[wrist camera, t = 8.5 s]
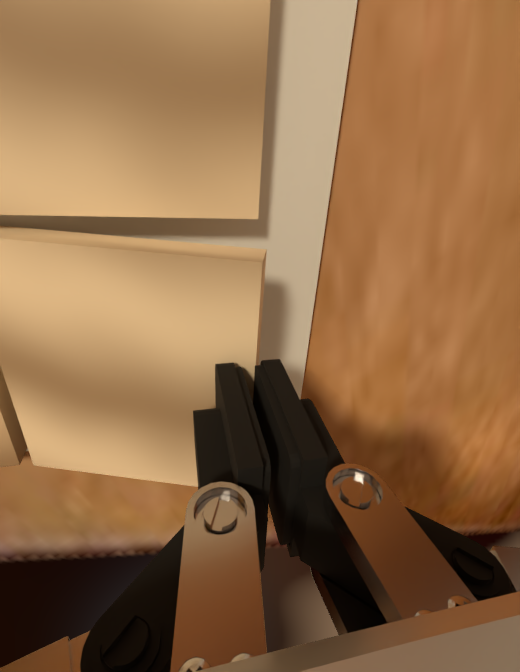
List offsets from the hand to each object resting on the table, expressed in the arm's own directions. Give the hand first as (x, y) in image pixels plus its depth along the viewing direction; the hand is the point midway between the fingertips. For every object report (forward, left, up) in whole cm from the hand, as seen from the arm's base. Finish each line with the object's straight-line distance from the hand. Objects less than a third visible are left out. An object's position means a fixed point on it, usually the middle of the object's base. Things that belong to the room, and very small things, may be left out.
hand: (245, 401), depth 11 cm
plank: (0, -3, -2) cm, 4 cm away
